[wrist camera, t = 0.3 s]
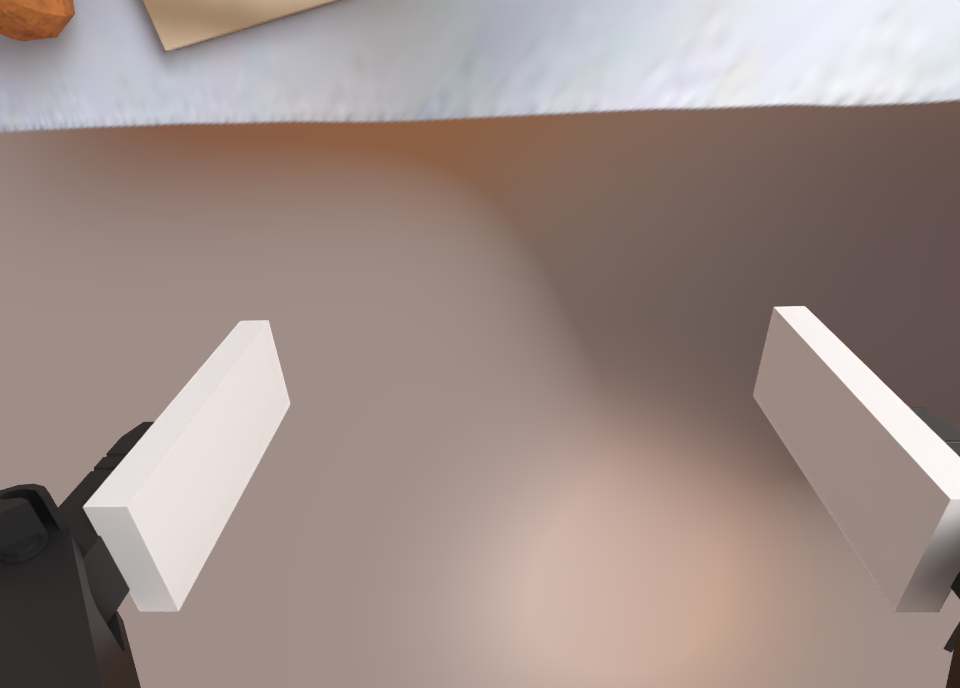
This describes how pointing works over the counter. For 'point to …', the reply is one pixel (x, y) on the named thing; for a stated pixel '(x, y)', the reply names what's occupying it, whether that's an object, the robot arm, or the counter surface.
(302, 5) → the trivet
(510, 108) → the counter surface
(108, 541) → the robot arm
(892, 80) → the counter surface
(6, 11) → the potato
